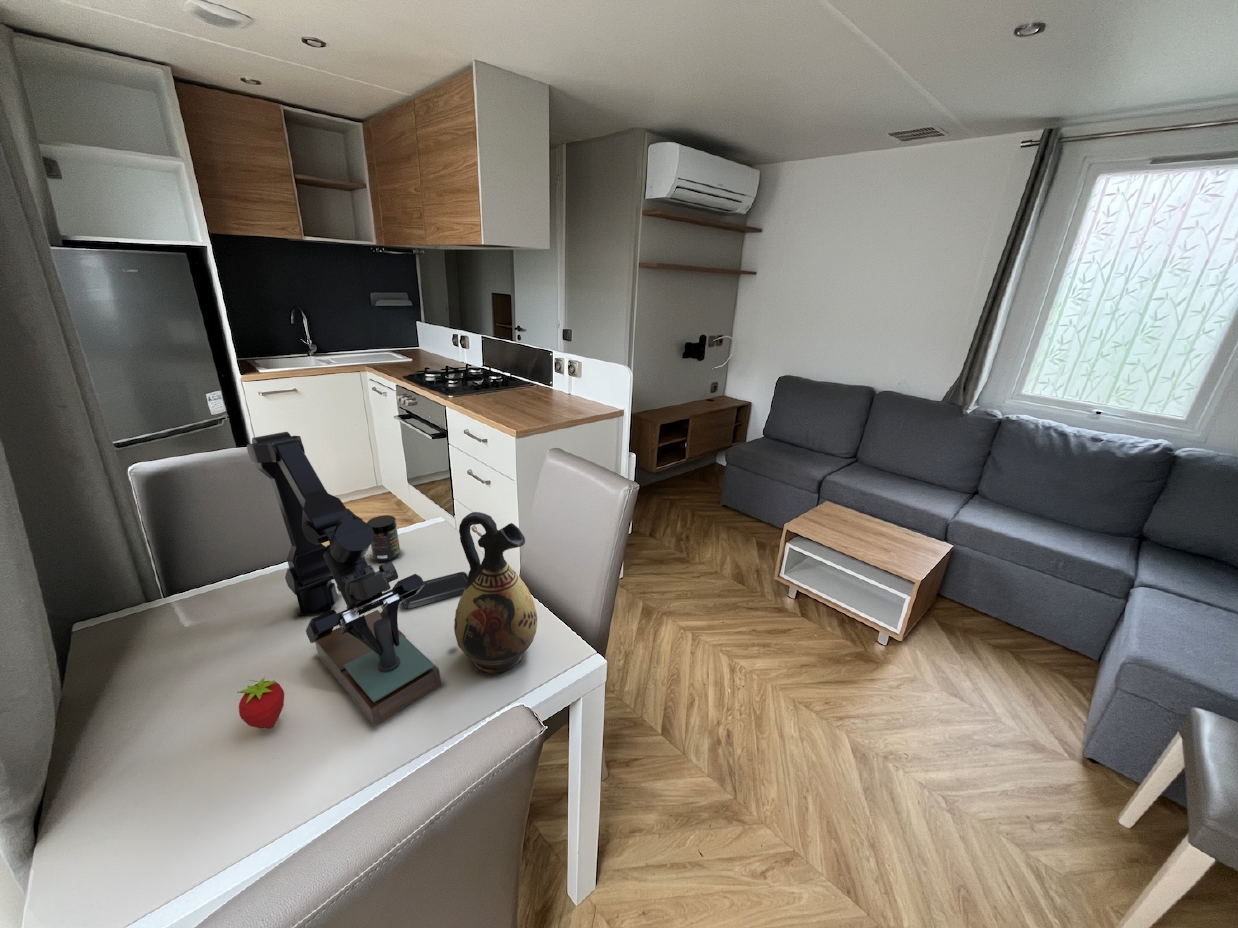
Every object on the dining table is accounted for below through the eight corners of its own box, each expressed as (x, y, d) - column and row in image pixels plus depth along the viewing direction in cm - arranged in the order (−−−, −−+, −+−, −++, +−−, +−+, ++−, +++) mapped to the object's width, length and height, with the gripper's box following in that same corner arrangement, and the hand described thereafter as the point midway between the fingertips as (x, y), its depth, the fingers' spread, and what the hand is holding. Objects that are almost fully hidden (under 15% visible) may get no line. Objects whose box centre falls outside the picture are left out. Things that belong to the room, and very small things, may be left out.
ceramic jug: (551, 637, 102) (546, 506, 91) (517, 693, 88) (507, 546, 77) (477, 621, 106) (465, 494, 95) (434, 672, 92) (414, 530, 82)
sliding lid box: (318, 656, 95) (314, 638, 94) (380, 626, 104) (377, 609, 102) (374, 726, 81) (370, 707, 79) (441, 684, 89) (438, 666, 88)
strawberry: (244, 753, 76) (227, 703, 72) (251, 716, 82) (236, 669, 79) (289, 738, 78) (275, 689, 75) (293, 703, 85) (280, 657, 81)
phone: (472, 587, 115) (404, 605, 108) (473, 591, 116) (405, 609, 109) (464, 570, 122) (399, 586, 115) (465, 574, 122) (400, 590, 115)
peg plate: (343, 667, 87) (334, 623, 83) (402, 636, 94) (396, 595, 91) (373, 702, 80) (364, 656, 76) (434, 666, 87) (428, 622, 84)
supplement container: (403, 548, 133) (398, 514, 130) (398, 562, 127) (392, 526, 123) (376, 551, 132) (370, 516, 128) (370, 564, 126) (363, 528, 122)
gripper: (297, 577, 75) (340, 670, 72) (413, 534, 89) (453, 611, 86) (290, 599, 83) (328, 684, 80) (398, 556, 96) (434, 628, 93)
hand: (389, 650), depth 85 cm, fingers closed on peg plate, 3 cm apart
